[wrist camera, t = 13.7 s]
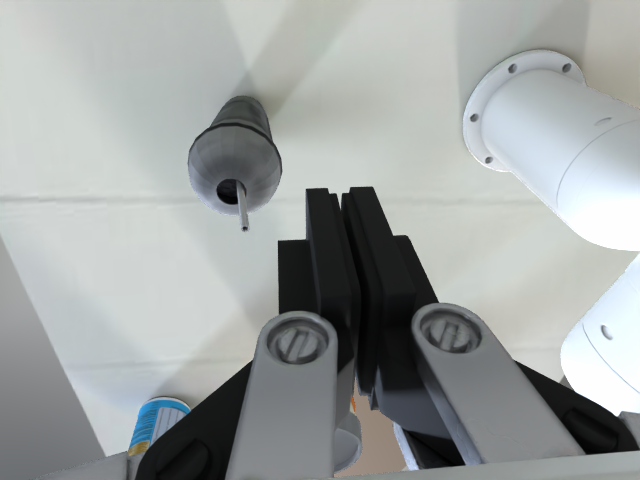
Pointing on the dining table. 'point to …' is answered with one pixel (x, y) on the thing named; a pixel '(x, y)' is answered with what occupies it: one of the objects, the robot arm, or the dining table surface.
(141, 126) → the dining table surface
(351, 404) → the reusable coffee cup
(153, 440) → the beverage bottle
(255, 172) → the beverage cup
